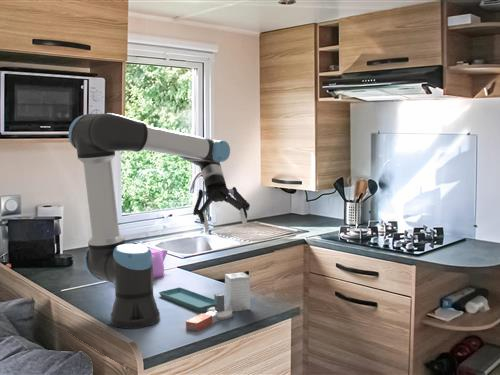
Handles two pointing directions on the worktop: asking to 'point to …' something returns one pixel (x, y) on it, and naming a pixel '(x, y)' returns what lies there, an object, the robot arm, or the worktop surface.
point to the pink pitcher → (158, 262)
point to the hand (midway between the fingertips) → (226, 227)
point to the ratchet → (210, 315)
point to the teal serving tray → (188, 299)
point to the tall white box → (237, 291)
